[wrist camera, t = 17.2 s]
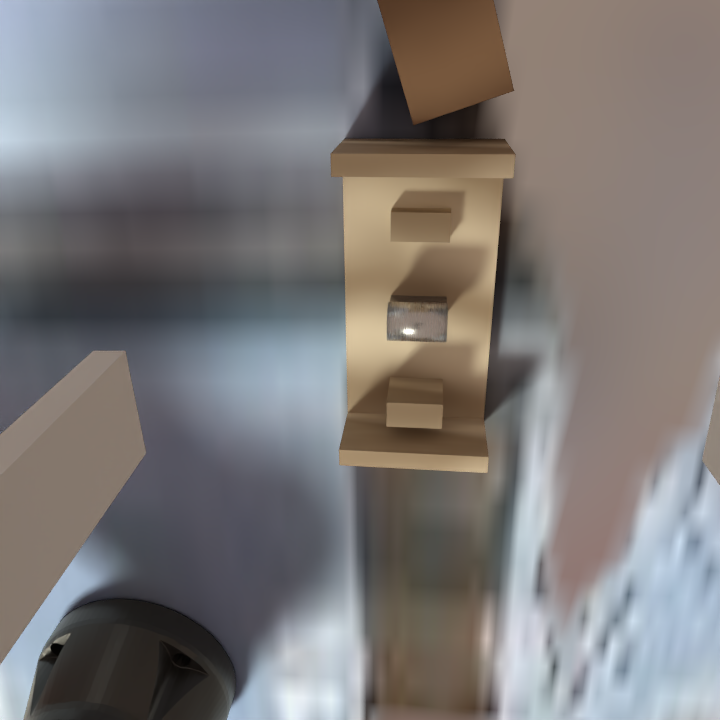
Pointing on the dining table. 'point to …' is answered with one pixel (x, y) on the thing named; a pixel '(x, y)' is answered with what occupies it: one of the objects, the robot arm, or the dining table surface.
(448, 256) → the birch cradle
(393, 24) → the walnut bar
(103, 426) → the robot arm
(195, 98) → the dining table surface
